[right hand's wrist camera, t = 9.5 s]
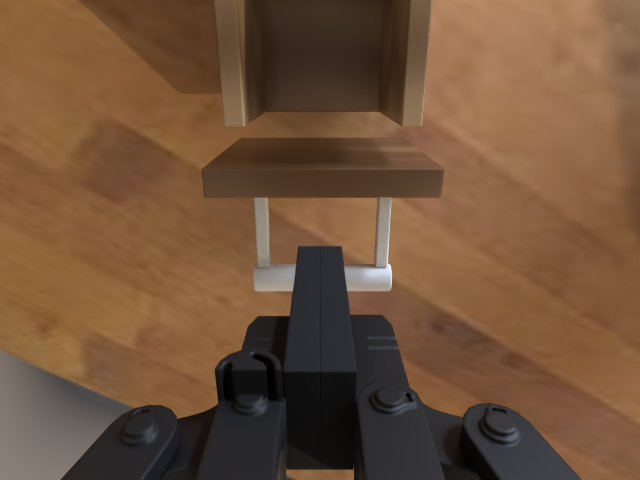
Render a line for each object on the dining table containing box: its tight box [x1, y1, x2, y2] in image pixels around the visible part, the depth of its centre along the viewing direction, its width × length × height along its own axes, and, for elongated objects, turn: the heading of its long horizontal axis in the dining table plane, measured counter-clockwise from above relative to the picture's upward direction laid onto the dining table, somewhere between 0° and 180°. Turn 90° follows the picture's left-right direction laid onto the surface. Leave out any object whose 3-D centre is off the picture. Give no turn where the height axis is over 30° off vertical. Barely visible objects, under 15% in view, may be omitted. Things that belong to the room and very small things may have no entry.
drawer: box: [202, 0, 444, 291], centre depth 19 cm, size 23×10×9 cm, turn 0°
